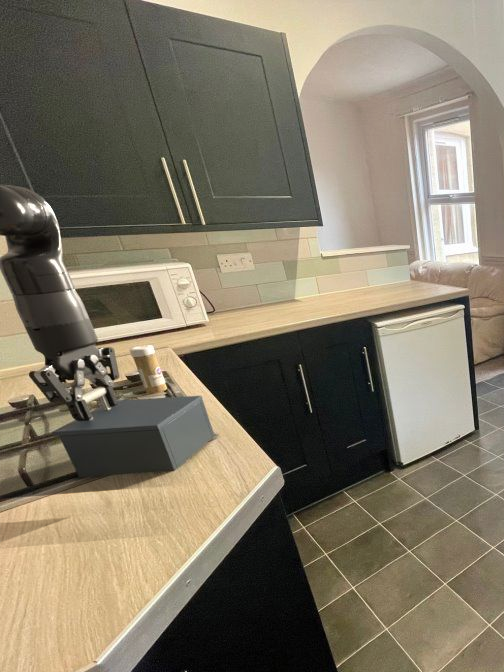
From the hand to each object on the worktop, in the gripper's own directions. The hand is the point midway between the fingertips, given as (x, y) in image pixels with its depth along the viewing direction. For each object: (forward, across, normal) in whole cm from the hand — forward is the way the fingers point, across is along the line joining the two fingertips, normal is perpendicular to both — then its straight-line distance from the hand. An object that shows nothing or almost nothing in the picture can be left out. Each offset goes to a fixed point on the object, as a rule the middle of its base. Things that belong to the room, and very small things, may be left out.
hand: (97, 412), depth 75 cm
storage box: (+11, 0, +6) cm, 13 cm away
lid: (+1, 0, +6) cm, 6 cm away
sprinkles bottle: (+11, -35, -16) cm, 40 cm away
